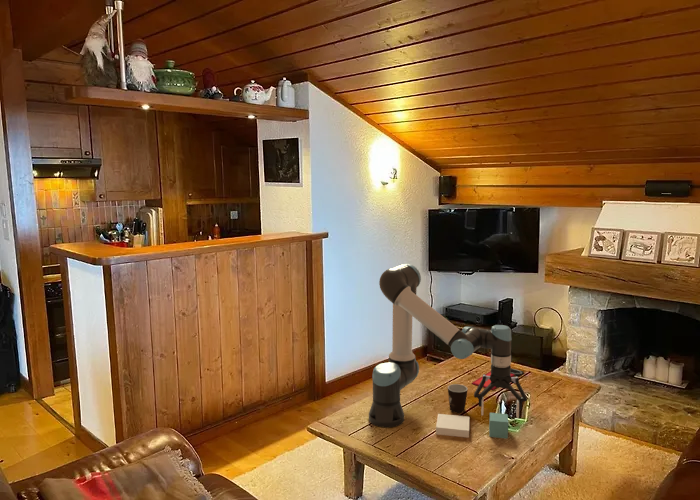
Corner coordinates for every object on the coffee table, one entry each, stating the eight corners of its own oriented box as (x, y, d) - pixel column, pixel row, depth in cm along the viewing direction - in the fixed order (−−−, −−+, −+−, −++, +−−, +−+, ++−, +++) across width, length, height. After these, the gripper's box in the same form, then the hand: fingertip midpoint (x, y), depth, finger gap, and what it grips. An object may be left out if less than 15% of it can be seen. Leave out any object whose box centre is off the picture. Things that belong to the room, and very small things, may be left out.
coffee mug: (467, 414, 235) (467, 392, 233) (447, 413, 237) (447, 391, 235) (467, 403, 246) (467, 382, 244) (447, 401, 248) (448, 380, 246)
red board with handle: (527, 374, 278) (500, 367, 288) (527, 368, 278) (500, 362, 288) (499, 393, 257) (471, 385, 267) (499, 388, 256) (471, 380, 266)
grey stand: (435, 434, 219) (435, 427, 218) (437, 420, 230) (438, 413, 230) (468, 437, 216) (469, 430, 215) (469, 423, 227) (469, 416, 227)
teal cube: (489, 436, 216) (490, 420, 215) (489, 428, 223) (489, 412, 222) (507, 438, 215) (508, 422, 214) (506, 430, 221) (507, 414, 220)
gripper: (468, 366, 213) (467, 416, 217) (535, 370, 208) (533, 422, 211) (468, 359, 220) (468, 408, 224) (533, 363, 215) (531, 413, 218)
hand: (499, 415), depth 217 cm, fingers open, 13 cm apart
